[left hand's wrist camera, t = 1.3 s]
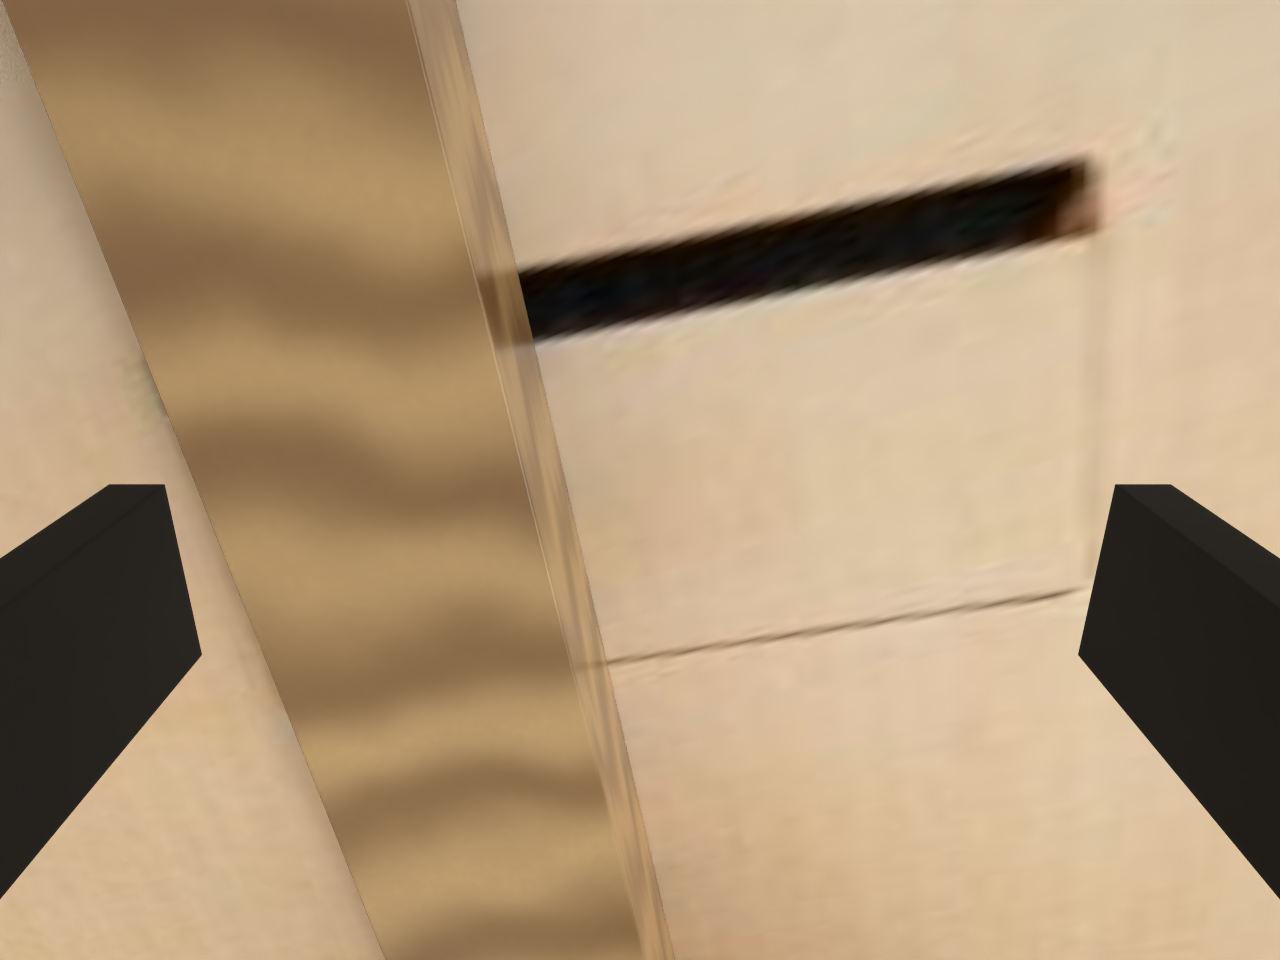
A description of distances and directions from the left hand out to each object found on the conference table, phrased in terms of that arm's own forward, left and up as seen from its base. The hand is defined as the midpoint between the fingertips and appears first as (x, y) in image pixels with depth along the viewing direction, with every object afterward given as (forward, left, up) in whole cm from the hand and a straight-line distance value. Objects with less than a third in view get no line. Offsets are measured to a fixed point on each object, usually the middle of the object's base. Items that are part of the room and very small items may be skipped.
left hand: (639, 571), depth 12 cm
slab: (+21, +5, -19) cm, 29 cm away
